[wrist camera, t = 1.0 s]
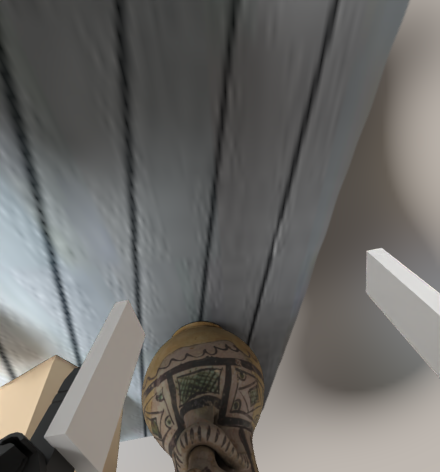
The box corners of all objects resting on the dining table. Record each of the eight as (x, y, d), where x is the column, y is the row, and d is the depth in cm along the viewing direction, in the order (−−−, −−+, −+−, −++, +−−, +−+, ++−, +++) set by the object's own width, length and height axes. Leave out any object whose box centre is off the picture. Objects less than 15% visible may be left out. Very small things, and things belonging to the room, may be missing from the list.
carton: (-14, 395, 41) (-71, 497, 31) (55, 354, 40) (20, 446, 29) (65, 426, 49) (41, 513, 39) (124, 393, 48) (115, 475, 38)
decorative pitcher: (253, 358, 51) (320, 548, 30) (167, 386, 50) (175, 606, 29) (234, 280, 40) (321, 499, 18) (122, 314, 38) (79, 592, 17)
